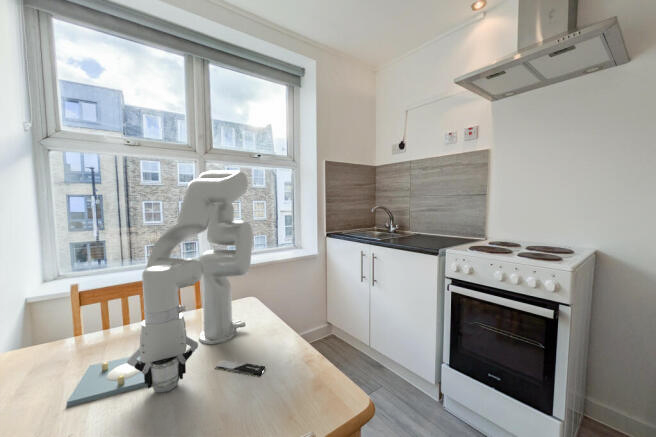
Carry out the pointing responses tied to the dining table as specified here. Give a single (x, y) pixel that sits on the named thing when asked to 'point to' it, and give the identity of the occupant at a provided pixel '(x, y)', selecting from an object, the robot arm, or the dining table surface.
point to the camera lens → (165, 374)
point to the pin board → (107, 381)
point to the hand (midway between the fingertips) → (166, 379)
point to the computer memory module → (241, 368)
